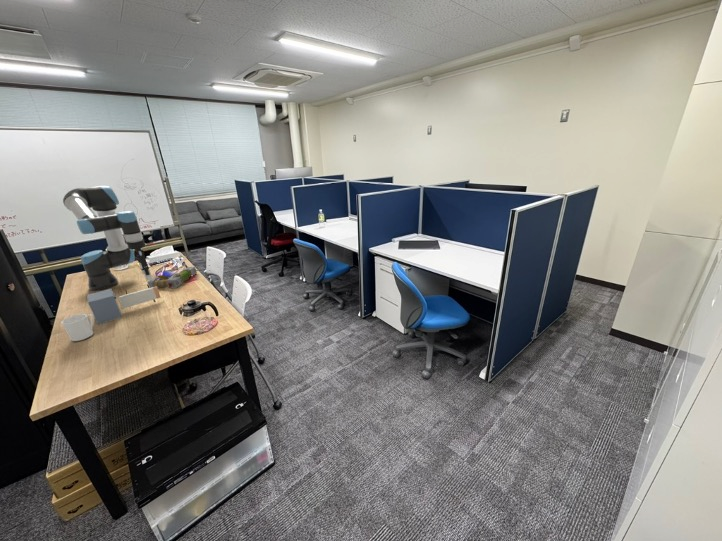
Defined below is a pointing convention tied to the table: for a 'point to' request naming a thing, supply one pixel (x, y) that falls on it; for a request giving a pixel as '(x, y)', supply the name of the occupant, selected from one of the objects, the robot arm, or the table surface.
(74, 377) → the table surface
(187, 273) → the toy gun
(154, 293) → the slim white post
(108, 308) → the block
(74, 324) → the mug
